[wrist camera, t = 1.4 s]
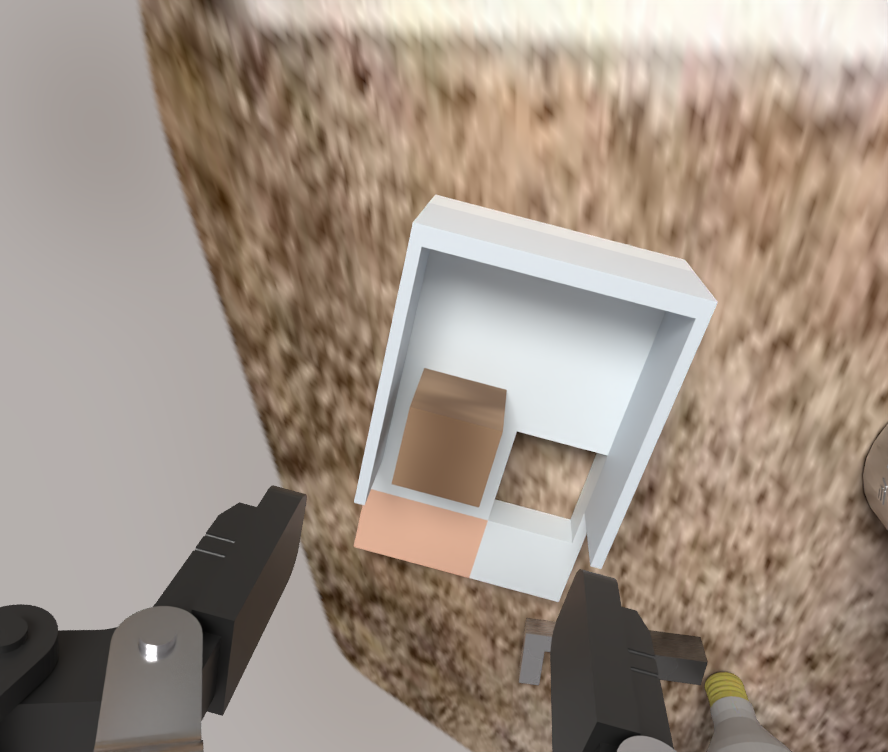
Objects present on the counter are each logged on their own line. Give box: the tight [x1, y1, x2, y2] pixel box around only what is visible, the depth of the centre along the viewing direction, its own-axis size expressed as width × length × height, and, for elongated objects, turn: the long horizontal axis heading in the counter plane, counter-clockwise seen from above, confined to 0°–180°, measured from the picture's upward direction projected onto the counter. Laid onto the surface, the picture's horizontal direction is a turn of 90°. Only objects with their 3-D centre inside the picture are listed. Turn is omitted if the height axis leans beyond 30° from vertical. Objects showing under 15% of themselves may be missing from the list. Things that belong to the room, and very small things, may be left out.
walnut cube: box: [392, 368, 507, 508], centre depth 30 cm, size 4×4×4 cm
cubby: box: [354, 195, 718, 602], centre depth 31 cm, size 12×19×6 cm, turn 167°
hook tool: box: [519, 618, 707, 685], centre depth 39 cm, size 10×4×2 cm, turn 87°
